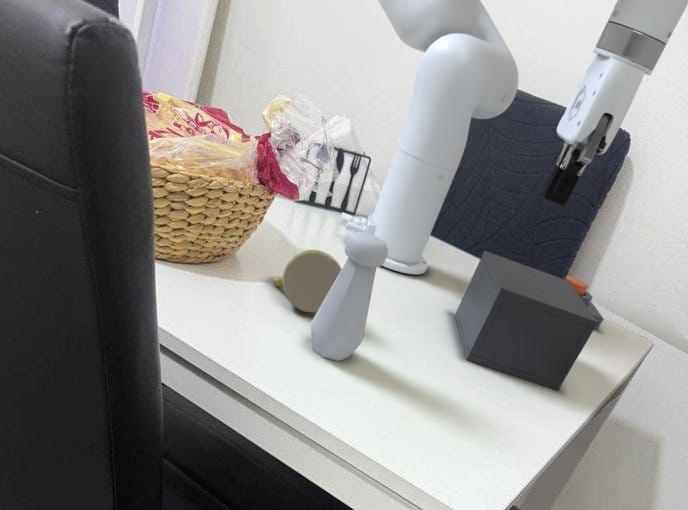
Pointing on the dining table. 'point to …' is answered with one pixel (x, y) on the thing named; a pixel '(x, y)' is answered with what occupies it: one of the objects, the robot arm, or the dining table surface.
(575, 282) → the button
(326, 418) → the dining table surface
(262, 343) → the dining table surface
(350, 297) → the salt shaker
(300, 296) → the mug
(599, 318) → the panel
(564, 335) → the box
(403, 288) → the dining table surface
